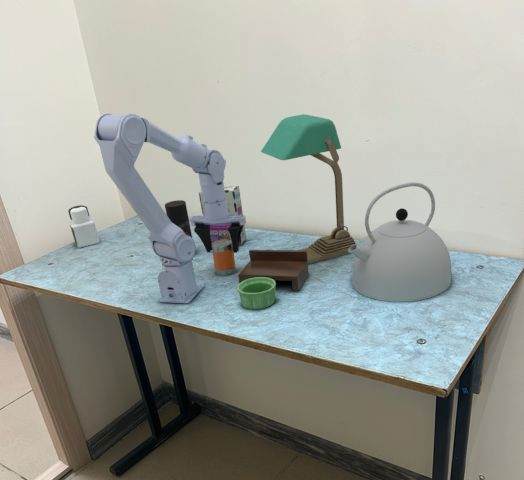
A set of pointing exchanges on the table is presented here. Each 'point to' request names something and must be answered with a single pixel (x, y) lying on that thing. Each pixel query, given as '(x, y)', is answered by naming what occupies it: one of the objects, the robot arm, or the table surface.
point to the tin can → (223, 257)
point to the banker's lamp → (313, 143)
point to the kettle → (401, 258)
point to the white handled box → (82, 226)
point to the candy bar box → (233, 208)
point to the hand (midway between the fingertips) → (222, 251)
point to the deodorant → (179, 215)
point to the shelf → (277, 266)
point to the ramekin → (257, 292)
